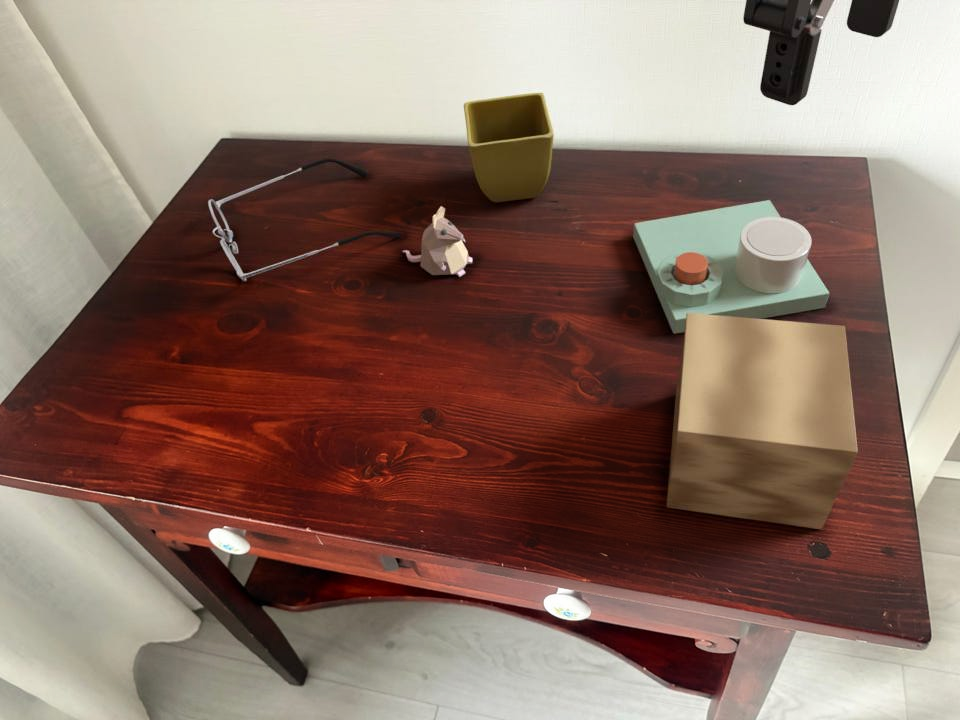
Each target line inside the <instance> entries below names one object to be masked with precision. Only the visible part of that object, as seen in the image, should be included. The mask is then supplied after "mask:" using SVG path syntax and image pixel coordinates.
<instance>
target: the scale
mask: <svg viewBox="0 0 960 720" xmlns="http://www.w3.org/2000/svg"><path fill="white" fill-rule="evenodd" d="M763 217H781V215H780V214H779V212H778V211H777V209H776V208H775V206H774V204H773V202H772V201H771V200H770V199H767V200H761V201H755V202H749V203H743V204H738V205H732V206H727V207H726V206H725V207H720V208H715V209H709V210H703V211H698V212H692V213H686V214H680V215H675V216H668V217H662V218H657V219H652V220H651V219H650V220H646V221H639V222H635V223H633V234H632V235H633V236H632V237H633V240H634V242H635V244H636V247H637V250H638V252H639V254H640V257H641V259H642V262H643V264H644V266H645V269H646V272H647V273H648V274H647V275H648V276H649V278H650V281H651V283H652V286H653V288H654V291H655V293H656V295H657V298H658V300H659V303H660V304H661V308H662V310H663V312H664V315H665V317H666V319H667V322H668V324H669V327H670V329H671V331H672V333H673V335H675V334H681V333H684V331H685V323H686V316H687V313H695V314H707V315H719V316H731V317H743V318H755V319H768V318H773V317H780V316H785V315H791V314H797V313H803V312H808V311H809V312H810V311H813V310H814V311H815V310H820V309H825V308H826V305H827V302H828V299H829V296H830V291H829V290H828V288H827V287H826V285H825V284H824V283H823V280H822V279H821V278H820V276H819V274H818V273H817V271H816V269H814V267H813V265H812V264H811V262H810V261H809V259H808V258H807V262H806V265H805V269H804V272H803V276H802V279H801V281H800V283H799V284H798V285H797V286H796V287H794V288H793V289H791V290H789V291H786V292H782V293H773V294H771V293H762V292H758V291H755V290H752V289H750V288H748V287H746V286H745V285H743V284H742V283H741V282H740V281H739V280H738V279H737V277H736V275H735V272H734V265H735V260H736V255H737V249H738V244H739V239H740V233H741V231H742V229H743V228H744V227H745V225H747V224H748V223H749V222H751V221H753V220H756V219H759V218H763ZM688 252H694V253H698V254H701V255H703V256H704V257H705V258H706V259H707V262H708V266H707V273H706V278H705V280H704V281H703V282H702V283H700V284H697V285H686V284H682V283H680V282H678V281H677V280H676V278H675V276H674V272H675V263H676V259H677V258H678V257H679V256H680V255H681V254H684V253H688Z"/></svg>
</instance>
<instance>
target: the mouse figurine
mask: <svg viewBox="0 0 960 720" xmlns="http://www.w3.org/2000/svg"><path fill="white" fill-rule="evenodd" d="M445 213H446V208H445V207H443V206H442V205H441V206H440V207H439V208H438V209H437V211H436V213H435V214H433V216H432V223H430V224H429V225H428V226H427V227H426V228H425V229H424V231H423V234H422V238H421V250H420V253H421V254H418V255H412V254H411V253H410V250H407V249H405V250H402V253H404V254H405V255H406V257H407V258H406V259H407V260H408V261H409V262H411V263H419V262H420V267H421V268H422V269H424V270H425V271H426V272H428V273H429V274H430V275H432V276H443V275H444V276H445V275H446V276H447V275H456V276H458V277H459V278H461V277H462V276H463V275H465V274H466V271H465V270H464V269H465V267H466V266H467V265H473V257H471V256H470V255H469V251H468V249H467V248H466V246H465V244H464V243H466V242H467V241H466V240H465V238H464V234H463V233H462V232H461V231H460V230H458V228H457V227H456V225H454V224H453V223H452V222H451V221H450V220H448V218H445ZM463 242H464V243H463Z"/></svg>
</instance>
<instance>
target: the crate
mask: <svg viewBox="0 0 960 720" xmlns="http://www.w3.org/2000/svg"><path fill="white" fill-rule="evenodd" d="M678 370H679V371H678V377H677V385H676V392H675V401H674V413H673V424H672V438H671V449H670V461H669V472H668V485H667V496H666V508H668V509H676V510H683V511H690V512H696V513H704V514H710V515H717V516H725V517H730V518H738V519H745V520H753V521H759V522H766V523H767V522H768V523H774V524H781V525H787V526H794V527H800V528H801V527H802V528H808V529H816V530H822V529H823V528H824V526H825V523H826V521H827V519H828V517H829V515H830V513H831V510H832V508H833V506H834V505H835V502H836V500H837V498H838V495H839V494H840V492H841V489H842V487H843V485H844V483H845V481H846V478H847V476H848V475H849V472H850V470H851V468H852V465H853V463H854V462H855V460H856V457H857V455H858V453H859V449H858V440H857V430H856V420H855V411H854V402H853V401H854V400H853V391H852V381H851V371H850V361H849V352H848V342H847V332H846V326H845V325H837V324H826V323H815V322H814V323H813V322H803V321H790V320H777V319H768V318H763V319H755V318H743V317H731V316H719V315H707V314H695V313H687V316H686V323H685V331H684V332H683V340H682V346H681V354H680V361H679V369H678Z"/></svg>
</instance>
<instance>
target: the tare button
mask: <svg viewBox="0 0 960 720" xmlns="http://www.w3.org/2000/svg"><path fill="white" fill-rule="evenodd" d="M707 266H708V262H707V259H706V258H705V257H704V256H703V255H701V254H698V253H694V252H688V253H684V254H681V255H680V256H679V257H678V258H677V259H676V263H675V272H674V276H675V278H676V280H677V281H678V282H680V283H682V284H686V285H697V284H700V283H702V282H703V281H704V280H705V278H706V273H707Z"/></svg>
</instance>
